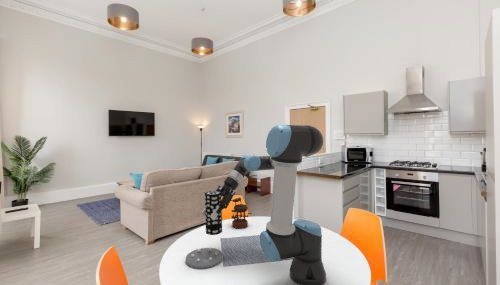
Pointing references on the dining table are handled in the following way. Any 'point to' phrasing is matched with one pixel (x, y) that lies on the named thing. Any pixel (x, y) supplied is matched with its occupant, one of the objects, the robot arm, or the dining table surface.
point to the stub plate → (204, 258)
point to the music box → (240, 209)
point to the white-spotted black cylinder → (210, 205)
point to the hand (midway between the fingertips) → (207, 216)
